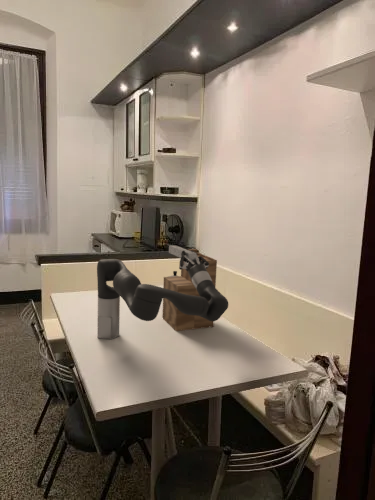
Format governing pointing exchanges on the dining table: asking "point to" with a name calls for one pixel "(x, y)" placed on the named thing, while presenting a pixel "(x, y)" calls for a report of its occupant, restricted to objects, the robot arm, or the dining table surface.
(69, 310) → the dining table surface
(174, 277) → the stand
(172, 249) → the steel bar
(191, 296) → the robot arm
